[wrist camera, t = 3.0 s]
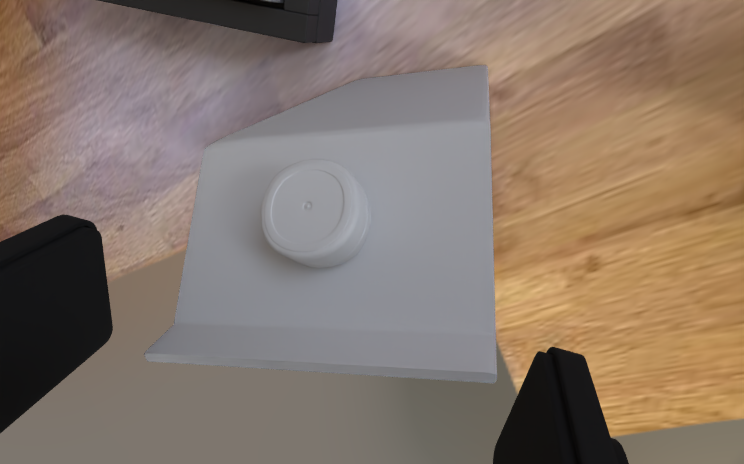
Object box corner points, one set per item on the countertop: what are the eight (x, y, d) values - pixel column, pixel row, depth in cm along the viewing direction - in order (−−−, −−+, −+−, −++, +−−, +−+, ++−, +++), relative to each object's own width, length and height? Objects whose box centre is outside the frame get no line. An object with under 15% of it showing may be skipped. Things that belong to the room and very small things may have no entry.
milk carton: (490, 194, 26) (499, 517, 9) (371, 199, 27) (191, 475, 11) (487, 63, 23) (492, 174, 6) (355, 79, 25) (76, 196, 8)
